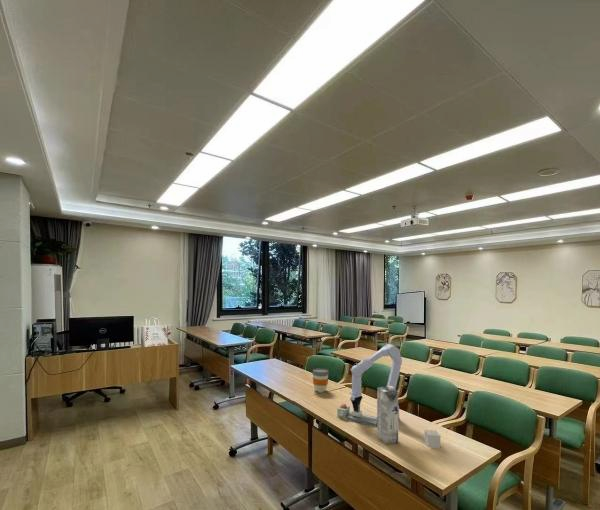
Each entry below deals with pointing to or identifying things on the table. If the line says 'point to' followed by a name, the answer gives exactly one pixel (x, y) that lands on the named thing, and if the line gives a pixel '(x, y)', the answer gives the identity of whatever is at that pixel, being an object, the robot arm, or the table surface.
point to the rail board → (362, 419)
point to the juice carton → (387, 414)
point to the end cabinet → (343, 411)
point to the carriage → (358, 412)
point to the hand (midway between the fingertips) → (356, 409)
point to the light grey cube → (432, 439)
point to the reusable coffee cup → (320, 379)
